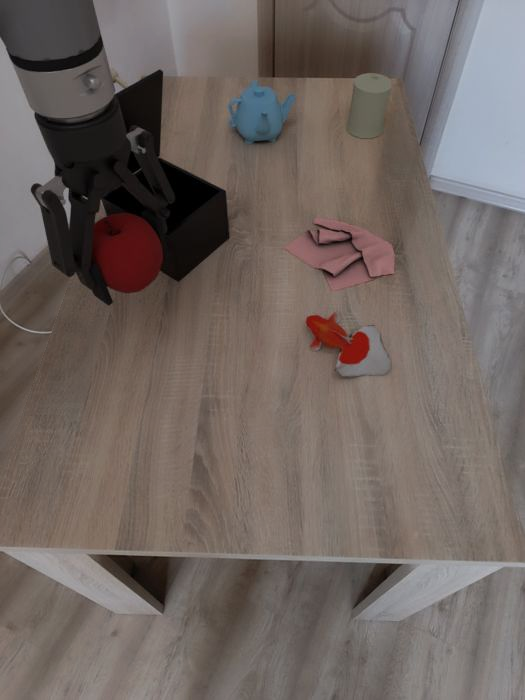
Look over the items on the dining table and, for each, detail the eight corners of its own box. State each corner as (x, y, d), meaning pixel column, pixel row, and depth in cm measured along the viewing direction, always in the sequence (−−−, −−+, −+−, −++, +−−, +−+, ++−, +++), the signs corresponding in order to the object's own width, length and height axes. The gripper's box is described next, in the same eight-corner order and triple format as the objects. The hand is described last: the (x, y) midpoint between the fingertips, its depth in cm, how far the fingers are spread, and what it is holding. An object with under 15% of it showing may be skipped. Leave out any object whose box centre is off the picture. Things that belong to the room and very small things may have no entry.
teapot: (300, 132, 121) (303, 87, 112) (265, 157, 115) (265, 111, 106) (254, 112, 127) (253, 67, 117) (219, 134, 121) (215, 89, 111)
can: (384, 121, 124) (395, 73, 114) (379, 141, 119) (390, 92, 109) (349, 116, 125) (357, 68, 115) (343, 135, 120) (350, 87, 110)
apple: (175, 294, 60) (161, 233, 51) (103, 313, 58) (76, 253, 50) (159, 245, 64) (144, 182, 56) (92, 261, 63) (66, 199, 54)
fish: (339, 291, 85) (351, 281, 75) (394, 360, 84) (413, 359, 74) (292, 329, 84) (297, 323, 74) (347, 398, 84) (360, 402, 74)
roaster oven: (229, 238, 99) (226, 190, 89) (178, 282, 92) (168, 236, 82) (168, 204, 105) (158, 156, 95) (116, 243, 98) (100, 196, 88)
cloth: (408, 278, 93) (411, 270, 91) (300, 296, 90) (301, 287, 88) (373, 211, 104) (375, 202, 102) (276, 225, 101) (276, 216, 99)
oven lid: (163, 71, 79) (131, 46, 79) (91, 112, 72) (56, 83, 72) (160, 156, 95) (133, 134, 96) (100, 195, 88) (72, 172, 89)
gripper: (-8, 177, 36) (85, 345, 55) (189, 67, 46) (211, 242, 64) (-61, 142, 39) (45, 313, 58) (136, 45, 48) (172, 219, 67)
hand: (133, 275), depth 61 cm, fingers closed on apple, 9 cm apart
